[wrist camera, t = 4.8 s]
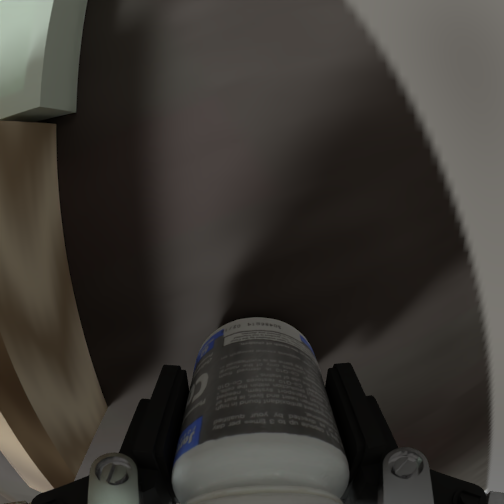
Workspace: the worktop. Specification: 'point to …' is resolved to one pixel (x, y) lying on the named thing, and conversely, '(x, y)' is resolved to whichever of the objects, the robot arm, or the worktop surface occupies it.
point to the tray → (39, 58)
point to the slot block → (40, 320)
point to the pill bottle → (258, 422)
